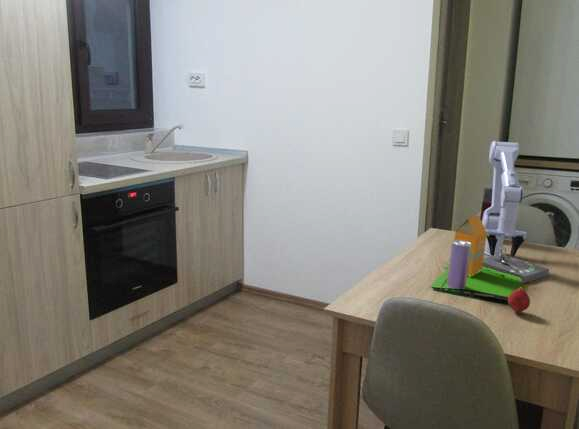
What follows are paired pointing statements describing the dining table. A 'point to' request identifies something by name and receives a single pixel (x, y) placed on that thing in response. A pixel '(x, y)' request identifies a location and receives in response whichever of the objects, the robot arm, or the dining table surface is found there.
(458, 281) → the beverage can
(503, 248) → the dial pointer
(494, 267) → the dial plate
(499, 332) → the dining table surface
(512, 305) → the red round lump
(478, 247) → the orange juice
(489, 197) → the toy vending machine
